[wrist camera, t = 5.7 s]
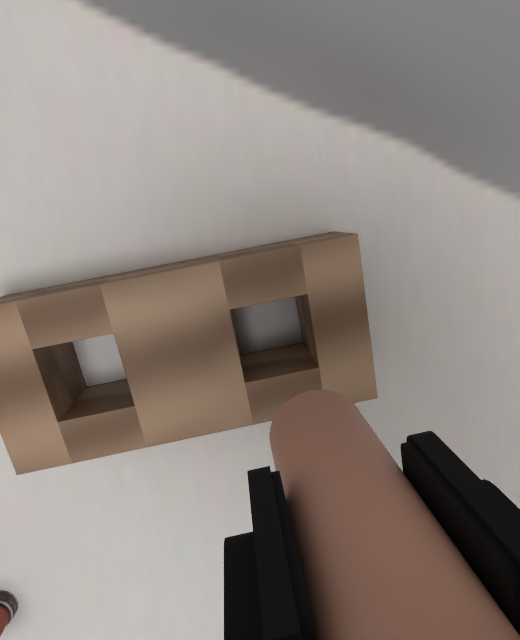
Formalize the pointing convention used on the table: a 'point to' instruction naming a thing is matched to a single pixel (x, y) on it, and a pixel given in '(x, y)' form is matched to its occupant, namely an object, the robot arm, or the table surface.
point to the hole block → (179, 350)
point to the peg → (371, 535)
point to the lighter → (7, 609)
